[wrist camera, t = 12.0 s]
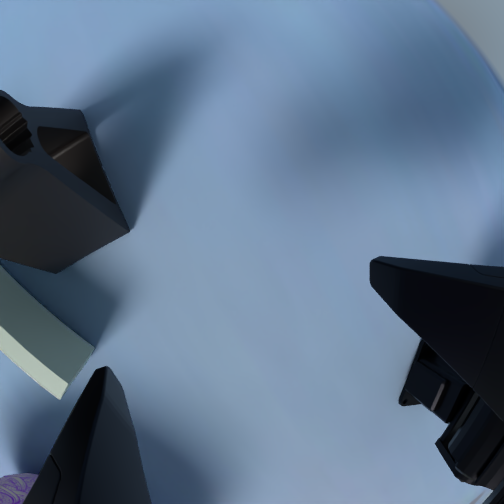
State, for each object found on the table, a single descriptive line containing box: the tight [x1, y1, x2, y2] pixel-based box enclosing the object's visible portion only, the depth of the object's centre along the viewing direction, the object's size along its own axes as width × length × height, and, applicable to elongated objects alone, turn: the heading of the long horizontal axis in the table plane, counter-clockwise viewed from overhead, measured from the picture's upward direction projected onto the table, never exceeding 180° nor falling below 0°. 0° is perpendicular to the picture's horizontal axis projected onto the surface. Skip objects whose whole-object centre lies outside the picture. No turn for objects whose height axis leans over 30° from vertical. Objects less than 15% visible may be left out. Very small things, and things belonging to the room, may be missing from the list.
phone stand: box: [0, 90, 130, 274], centre depth 11 cm, size 9×6×12 cm, turn 24°
